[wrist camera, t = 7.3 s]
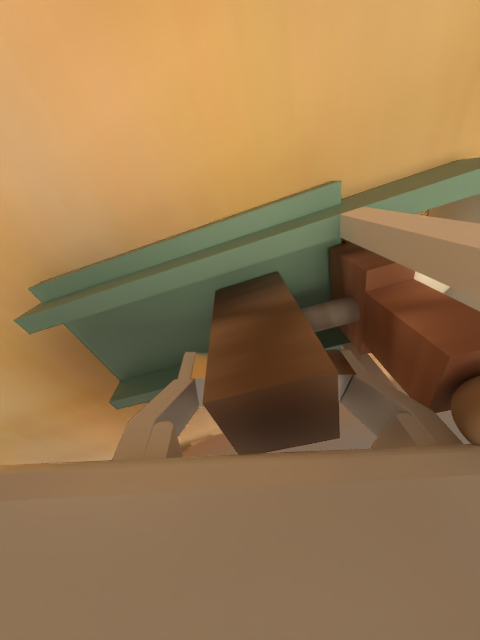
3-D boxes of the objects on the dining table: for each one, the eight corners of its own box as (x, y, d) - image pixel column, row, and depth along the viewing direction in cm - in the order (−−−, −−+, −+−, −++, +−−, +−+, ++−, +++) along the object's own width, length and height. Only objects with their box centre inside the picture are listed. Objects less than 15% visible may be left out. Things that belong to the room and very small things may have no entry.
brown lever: (236, 343, 15) (248, 547, 6) (212, 283, 12) (177, 505, 4) (363, 309, 14) (578, 502, 5) (368, 235, 11) (828, 394, 3)
